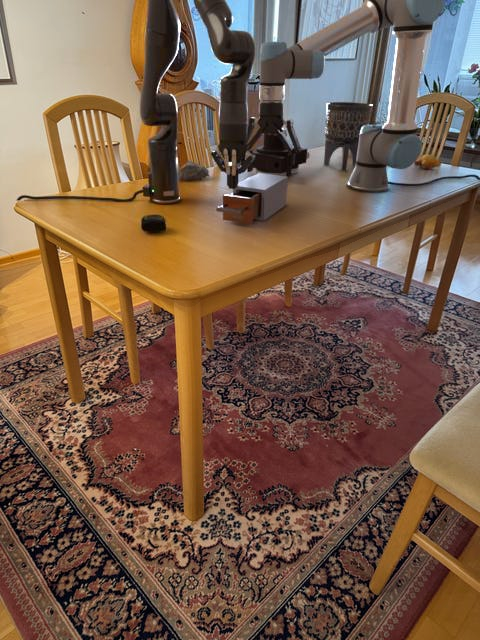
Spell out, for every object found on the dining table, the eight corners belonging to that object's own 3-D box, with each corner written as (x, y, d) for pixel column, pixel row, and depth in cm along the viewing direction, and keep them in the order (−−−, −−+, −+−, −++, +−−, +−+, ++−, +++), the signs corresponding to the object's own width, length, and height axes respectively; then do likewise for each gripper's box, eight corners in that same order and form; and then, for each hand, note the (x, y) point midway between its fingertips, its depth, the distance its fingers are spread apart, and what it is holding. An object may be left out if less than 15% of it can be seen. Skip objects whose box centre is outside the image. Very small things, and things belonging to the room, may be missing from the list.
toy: (415, 162, 205) (409, 155, 218) (417, 175, 208) (411, 168, 221) (441, 154, 202) (433, 147, 215) (443, 168, 205) (435, 160, 218)
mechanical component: (240, 120, 182) (283, 115, 202) (239, 174, 192) (280, 164, 212) (283, 126, 170) (325, 120, 190) (280, 183, 180) (320, 171, 200)
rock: (201, 174, 190) (201, 158, 187) (214, 178, 185) (214, 162, 181) (174, 179, 183) (173, 162, 179) (187, 183, 177) (186, 166, 174)
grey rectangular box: (263, 221, 139) (264, 189, 134) (232, 215, 143) (232, 185, 138) (285, 205, 155) (287, 176, 150) (257, 200, 158) (258, 172, 154)
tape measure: (141, 234, 126) (140, 221, 124) (142, 226, 132) (141, 214, 130) (166, 233, 127) (165, 220, 125) (166, 225, 133) (165, 213, 131)
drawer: (242, 230, 128) (243, 204, 125) (213, 225, 132) (213, 199, 128) (274, 208, 147) (275, 185, 143) (248, 204, 151) (248, 181, 147)
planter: (313, 167, 208) (319, 103, 195) (331, 160, 222) (338, 101, 209) (353, 173, 199) (362, 107, 185) (369, 166, 213) (379, 104, 199)
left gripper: (204, 120, 117) (205, 188, 126) (250, 124, 112) (248, 194, 121) (217, 118, 123) (217, 182, 132) (262, 121, 118) (259, 188, 127)
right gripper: (229, 100, 139) (229, 171, 149) (307, 104, 129) (301, 179, 140) (239, 98, 144) (239, 167, 155) (315, 102, 135) (309, 174, 146)
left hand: (232, 188), depth 127 cm, fingers closed
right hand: (269, 173), depth 148 cm, fingers open, 13 cm apart
